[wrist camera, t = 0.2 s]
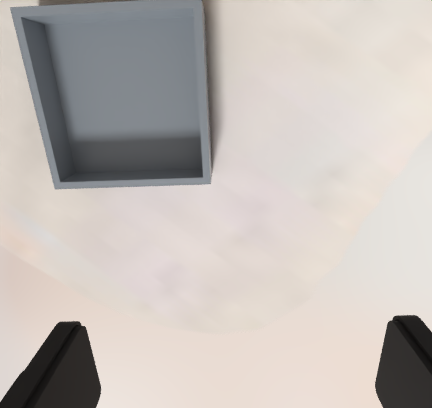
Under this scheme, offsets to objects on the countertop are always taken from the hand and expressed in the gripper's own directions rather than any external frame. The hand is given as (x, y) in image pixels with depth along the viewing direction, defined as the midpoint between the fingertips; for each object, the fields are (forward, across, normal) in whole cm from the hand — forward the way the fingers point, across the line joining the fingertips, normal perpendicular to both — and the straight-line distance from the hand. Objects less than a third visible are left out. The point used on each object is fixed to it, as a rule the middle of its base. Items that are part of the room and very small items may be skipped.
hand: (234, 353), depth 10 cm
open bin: (+31, +11, -6) cm, 33 cm away
